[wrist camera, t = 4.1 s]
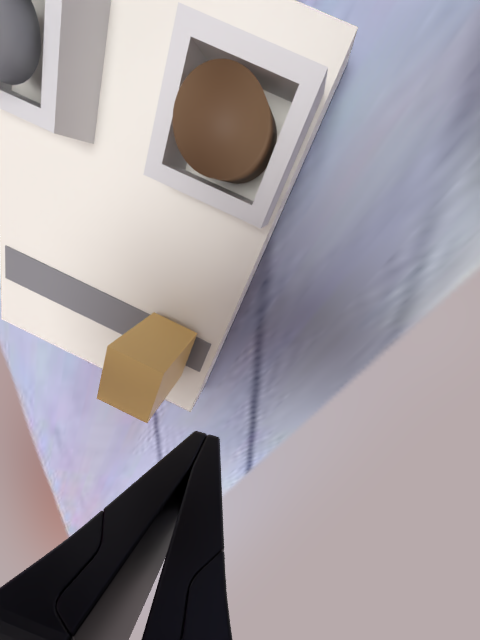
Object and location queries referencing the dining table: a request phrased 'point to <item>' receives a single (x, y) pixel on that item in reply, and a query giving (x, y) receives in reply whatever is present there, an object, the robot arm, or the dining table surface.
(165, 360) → the tan wooden brick
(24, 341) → the dining table surface
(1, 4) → the grey button
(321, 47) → the control panel
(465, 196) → the dining table surface
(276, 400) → the dining table surface
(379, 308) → the dining table surface
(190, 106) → the walnut button
